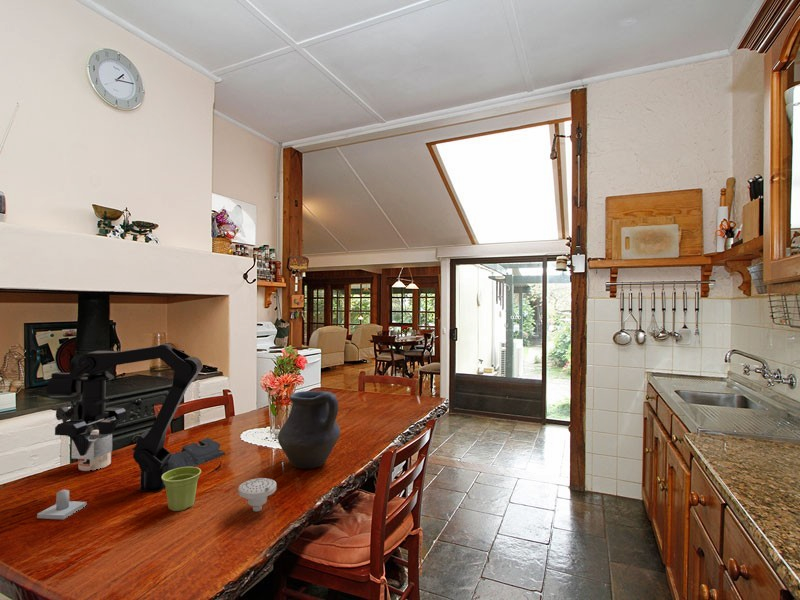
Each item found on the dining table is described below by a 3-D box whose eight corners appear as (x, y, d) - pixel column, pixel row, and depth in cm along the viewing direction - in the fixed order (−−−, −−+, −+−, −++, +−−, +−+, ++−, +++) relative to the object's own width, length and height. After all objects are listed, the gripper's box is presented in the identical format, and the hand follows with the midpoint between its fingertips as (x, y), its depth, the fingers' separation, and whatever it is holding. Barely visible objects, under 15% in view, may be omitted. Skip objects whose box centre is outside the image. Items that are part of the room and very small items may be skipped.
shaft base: (86, 505, 112) (86, 484, 112) (63, 519, 105) (63, 496, 105) (61, 504, 112) (61, 483, 112) (37, 518, 105) (37, 495, 105)
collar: (112, 451, 123) (112, 433, 123) (93, 459, 116) (93, 441, 116) (91, 450, 124) (91, 432, 124) (71, 458, 117) (71, 440, 117)
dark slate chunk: (143, 468, 138) (143, 453, 138) (200, 447, 158) (200, 434, 158) (175, 476, 132) (176, 461, 132) (230, 454, 152) (231, 440, 152)
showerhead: (252, 493, 104) (231, 482, 110) (252, 523, 104) (231, 510, 110) (285, 481, 111) (263, 471, 118) (284, 509, 111) (263, 497, 118)
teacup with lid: (72, 467, 136) (72, 431, 136) (103, 458, 144) (103, 424, 144) (89, 476, 130) (90, 438, 130) (121, 466, 138) (122, 430, 138)
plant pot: (156, 517, 106) (157, 482, 106) (165, 500, 115) (166, 468, 116) (197, 512, 109) (197, 478, 109) (203, 496, 118) (203, 465, 118)
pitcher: (308, 448, 157) (309, 381, 157) (355, 460, 146) (356, 388, 146) (264, 467, 139) (265, 391, 139) (314, 482, 128) (315, 399, 128)
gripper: (93, 388, 130) (92, 439, 130) (36, 402, 111) (35, 462, 111) (127, 389, 129) (126, 440, 129) (75, 404, 110) (74, 464, 110)
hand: (92, 451), depth 120 cm, fingers closed on collar, 7 cm apart
